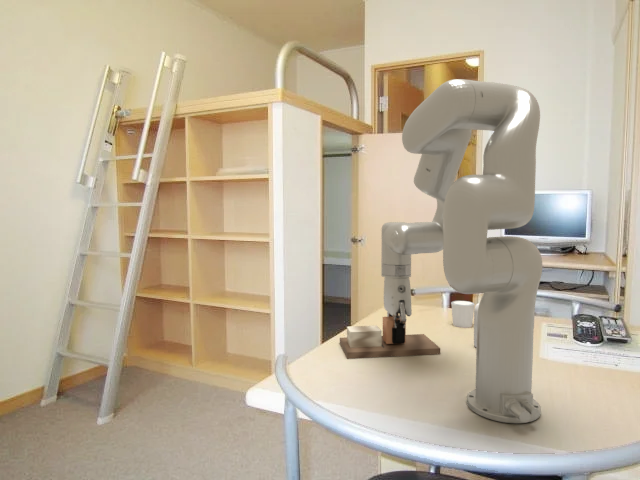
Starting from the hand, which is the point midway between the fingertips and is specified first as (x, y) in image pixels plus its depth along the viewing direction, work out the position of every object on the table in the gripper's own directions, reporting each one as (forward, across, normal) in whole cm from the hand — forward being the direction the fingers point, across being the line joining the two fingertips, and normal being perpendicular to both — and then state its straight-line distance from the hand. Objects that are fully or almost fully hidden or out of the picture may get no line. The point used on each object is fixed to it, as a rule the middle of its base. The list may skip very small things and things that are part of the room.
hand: (395, 339), depth 115 cm
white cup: (+3, +18, -26) cm, 32 cm away
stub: (0, 0, +1) cm, 1 cm away
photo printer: (+3, -5, -24) cm, 25 cm away
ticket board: (+2, 0, +2) cm, 3 cm away
